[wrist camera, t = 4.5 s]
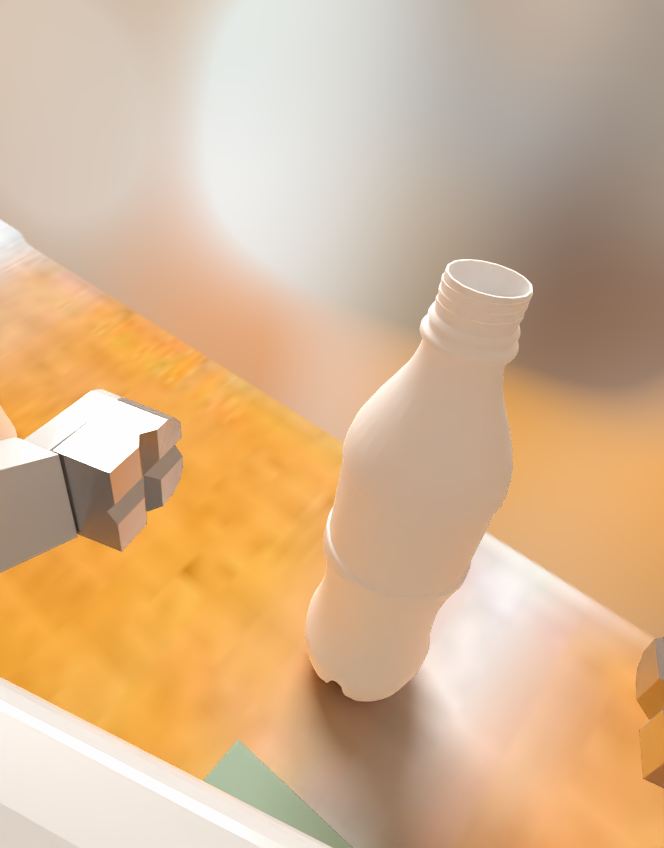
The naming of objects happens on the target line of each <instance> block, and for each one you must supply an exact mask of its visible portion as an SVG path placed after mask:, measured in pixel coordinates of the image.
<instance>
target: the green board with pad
mask: <svg viewBox="0 0 664 848" xmlns="http://www.w3.org/2000/svg"><path fill="white" fill-rule="evenodd" d="M204 782H206V783H208V784H210V785H212V786H214V787H215V788H217V789H219V790H221V791H223V792H225V793H227V794H229V795H231V796H233V797H235V798H237V799H239V800H241V801H243V802H245V803H247V804H249V805H251V806H252V807H254V808H256V809H258V810H260V811H262V812H264V813H266V814H268V815H270V816H272V817H274V818H276V819H278V820H280V821H282V822H284V823H286V824H288V825H289V826H291V827H293V828H295V829H297V830H299V831H301V832H303V833H305V834H307V835H309V836H311V837H313V838H315V839H317V840H319V841H321V842H323V843H325V844H326V845H328V846H330V847H332V848H352V847H351V846H350V845H349V844H348V843H347V842H346V841H345V840H344V839H343V838H342V837H341V836H340V835H339V834H338V833H337V832H336V831H334V830H333V829H332V828H331V827H330V826H329V825H328V824H327V823H326V822H325V821H324V820H323V819H322V818H321V817H320V816H319V815H318V814H316V813H315V812H314V811H313V810H312V809H311V808H310V807H309V806H308V805H307V804H306V803H305V802H304V801H303V800H302V799H301V798H300V797H298V796H297V795H296V794H295V793H294V792H293V791H292V790H291V789H290V788H289V787H288V786H287V785H286V784H285V783H284V782H283V781H282V780H281V779H279V778H278V777H277V776H276V775H275V774H274V773H273V772H272V771H271V770H270V769H269V768H268V767H267V766H266V765H265V764H264V763H263V762H261V761H260V760H259V759H258V758H257V757H256V756H255V755H254V754H253V753H252V752H251V751H250V750H249V749H248V748H247V747H246V746H245V745H243V744H242V743H241V742H240V741H239V740H237V742H236V743H235V744H234V745H233V746H232V747H231V749H230V750H229V751H228V752H227V753H226V755H225V756H224V757H223V758H222V759H221V760H220V762H219V763H218V764H217V765H216V766H215V768H214V769H213V770H212V771H211V772H210V774H209V775H208V776H207V777H206V778H205V779H204Z"/></svg>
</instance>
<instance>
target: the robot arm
mask: <svg viewBox="0 0 664 848" xmlns="http://www.w3.org/2000/svg"><path fill="white" fill-rule="evenodd" d="M181 437H182V435H181V424H180V421H178V420H177V419H176V418H174V417H171V416H169V415H166V414H164V413H162V412H159V411H157V410H154V409H152V408H149V407H147V406H144V405H142V404H139V403H137V402H134V401H132V400H129V399H127V398H123V397H120V396H118V395H115V394H113V393H110V392H108V391H105V390H103V389H98V390H93V391H90V392H89V393H88V394H86V395H85V396H83V397H82V398H81V399H79V400H78V401H77V402H75V403H74V404H72V405H71V406H70V407H68V408H67V409H65V410H64V411H63V412H61V413H60V414H59V415H57V416H56V417H54V418H53V419H52V420H50V421H49V422H47V423H46V424H45V425H43V426H42V427H41V428H39V429H38V430H36V431H35V432H34V433H32V434H31V435H30V436H28V437H27V438H25V439H24V440H23V439H20V438H17V434H16V430H15V427H14V425H13V424H12V422H11V421H10V419H9V418H8V416H7V415H6V413H5V412H4V410H3V409H2V407H1V406H0V573H1V572H3V571H5V570H7V569H9V568H12V567H14V566H16V565H18V564H20V563H22V562H24V561H27V560H29V559H31V558H33V557H35V556H37V555H40V554H42V553H44V552H46V551H48V550H50V549H53V548H55V547H57V546H59V545H61V544H63V543H65V542H68V541H70V540H72V539H74V538H76V537H77V536H78V535H77V534H79V535H81V536H84V537H86V538H89V539H91V540H94V541H96V542H99V543H101V544H104V545H106V546H109V547H111V548H114V549H116V550H119V551H121V552H122V551H123V550H124V549H125V548H126V547H127V546H128V544H129V543H130V542H131V541H132V540H133V539H134V538H135V537H136V535H137V534H138V533H139V532H140V531H141V530H142V529H143V528H144V527H145V525H146V524H147V511H150V510H153V509H156V508H158V507H161V506H163V505H164V504H165V503H166V502H167V500H168V499H169V498H170V497H171V496H172V494H173V493H174V491H175V489H176V487H177V485H178V483H179V481H180V478H181V473H182V468H183V459H182V455H181V454H180V452H179V450H178V449H177V447H176V446H175V444H176V442H177V441H178V440H179V439H180V438H181ZM636 698H637V701H638V703H639V704H640V706H641V708H642V709H643V711H644V712H645V714H646V715H647V717H648V719H649V720H648V721H647V723H646V724H645V725H644V726H643V727H642V728H641V729H640V730H639V736H640V747H641V759H642V770H643V779H645V780H647V781H649V782H651V783H654V784H656V785H658V786H660V787H662V788H664V637H663V638H657V639H654V641H653V642H652V643H651V644H650V645H649V646H648V648H647V649H646V650H645V651H644V653H643V655H642V658H641V660H640V663H639V666H638V668H637V676H636ZM0 848H332V847H330V846H328V845H326V844H325V843H323V842H321V841H319V840H317V839H315V838H313V837H311V836H309V835H307V834H305V833H303V832H301V831H299V830H297V829H295V828H293V827H291V826H289V825H288V824H286V823H284V822H282V821H280V820H278V819H276V818H274V817H272V816H270V815H268V814H266V813H264V812H262V811H260V810H258V809H256V808H254V807H252V806H251V805H249V804H247V803H245V802H243V801H241V800H239V799H237V798H235V797H233V796H231V795H229V794H227V793H225V792H223V791H221V790H219V789H217V788H215V787H214V786H212V785H210V784H208V783H206V782H204V781H202V780H200V779H198V778H196V777H194V776H192V775H190V774H188V773H186V772H184V771H182V770H180V769H178V768H176V767H175V766H173V765H171V764H169V763H167V762H165V761H163V760H161V759H159V758H157V757H155V756H153V755H151V754H149V753H147V752H145V751H143V750H141V749H139V748H138V747H136V746H134V745H132V744H130V743H128V742H126V741H124V740H122V739H120V738H118V737H116V736H114V735H112V734H110V733H108V732H106V731H104V730H102V729H101V728H99V727H97V726H95V725H93V724H91V723H89V722H87V721H85V720H83V719H81V718H79V717H77V716H75V715H73V714H71V713H69V712H67V711H65V710H63V709H62V708H60V707H58V706H56V705H54V704H52V703H50V702H48V701H46V700H44V699H42V698H40V697H38V696H36V695H34V694H32V693H30V692H28V691H26V690H25V689H23V688H21V687H19V686H17V685H15V684H13V683H11V682H9V681H7V680H5V679H3V678H1V677H0Z"/></svg>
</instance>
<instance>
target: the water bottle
mask: <svg viewBox="0 0 664 848" xmlns="http://www.w3.org/2000/svg"><path fill="white" fill-rule="evenodd" d="M438 291H439V293H438V295H437V296H436V299H435V300H436V301H435V302H434V303H433V304H432V305H431V306H430V308H429V309H428V314H427V315H426V316H425V317H424V318H423V319H422V321H421V324H420V334H421V336H422V338H423V339H422V341H421V343H420V345H419V347H418V349H417V351H416V352H415V354H414V355H413V357H412V358H411V359H410V361H409V362H407V363H406V365H404V366H403V367H402V369H400V370H399V371H398V372H397V373H396V374H395V375H394V376H393V377H391V378H390V379H389V380H388V381H387V382H386V383H385V384H384V385H382V386H381V388H380V389H379V390H378V391H377V392H376V393H375V394H374V395H373V396H372V397H371V398H370V399H369V400H368V401H367V402H366V403H365V404H364V405H363V407H362V408H361V409H360V411H359V412H358V413H357V415H356V417H355V419H354V421H353V422H352V424H351V426H350V428H349V430H348V432H347V435H346V438H345V441H344V444H343V452H342V457H343V463H342V467H341V472H340V477H339V482H338V486H337V491H336V496H335V500H334V505H333V508H332V509H331V511H330V513H329V516H328V519H327V524H326V528H325V533H324V540H323V548H324V554H325V557H326V560H327V566H326V571H325V575H324V578H323V580H322V582H321V584H320V585H319V586H318V588H317V590H316V591H315V593H314V595H313V597H312V599H311V602H310V605H309V609H308V613H307V618H306V624H305V640H306V646H307V653H308V656H309V658H310V661H311V664H312V666H313V668H314V670H315V671H316V673H317V675H318V676H319V677H320V678H321V679H322V680H323V681H325V682H326V683H328V682H329V681H331V680H333V681H335V682H337V683H338V684H339V685H340V686H341V688H342V691H343V693H344V695H345V696H347V697H349V698H351V699H353V700H355V701H376V700H381V699H385V698H387V697H389V696H391V695H393V694H394V693H396V692H397V691H398V690H399V689H401V688H402V687H403V686H404V685H405V684H406V683H407V682H408V681H409V680H411V679H412V678H413V677H414V676H415V675H416V674H417V672H418V670H419V668H420V667H421V665H422V663H423V661H424V659H425V657H426V655H427V653H428V650H429V645H430V632H431V628H432V625H433V622H434V619H435V617H436V614H437V612H438V611H439V609H440V608H441V606H442V605H443V603H444V602H445V601H446V600H447V599H448V598H449V597H450V596H451V595H452V594H453V593H454V592H455V591H456V590H458V589H459V588H460V586H461V585H462V584H463V582H464V580H465V578H466V576H467V574H468V572H469V569H470V565H471V559H472V557H473V555H474V553H475V551H476V549H477V547H478V545H479V543H480V541H481V539H482V537H483V535H484V533H485V531H486V529H487V527H488V525H489V523H490V521H491V519H492V517H493V515H494V514H495V513H496V512H497V511H498V510H499V508H500V507H501V506H502V504H503V502H504V500H505V497H506V495H507V492H508V488H509V485H510V482H511V475H512V469H513V462H512V443H511V436H510V428H509V424H508V419H507V414H506V409H505V403H504V397H503V374H504V368H505V365H506V363H509V362H510V361H512V360H513V359H514V358H515V357H516V354H517V352H518V349H519V346H518V341H517V340H518V339H519V337H520V326H519V323H520V321H522V320H523V317H524V313H525V311H526V309H527V308H528V306H529V305H528V304H529V303H528V302H529V301H530V299H531V297H532V295H533V290H532V284H531V283H530V282H529V281H528V280H527V279H526V278H525V277H524V276H522V275H520V274H519V273H517V272H515V271H514V270H511V269H509V268H506V267H504V266H501V265H499V264H495V263H490V262H486V261H481V260H471V259H465V260H455V261H453V262H451V263H449V264H447V267H446V270H445V272H444V274H442V278H441V283H440V286H439V289H438Z"/></svg>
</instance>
